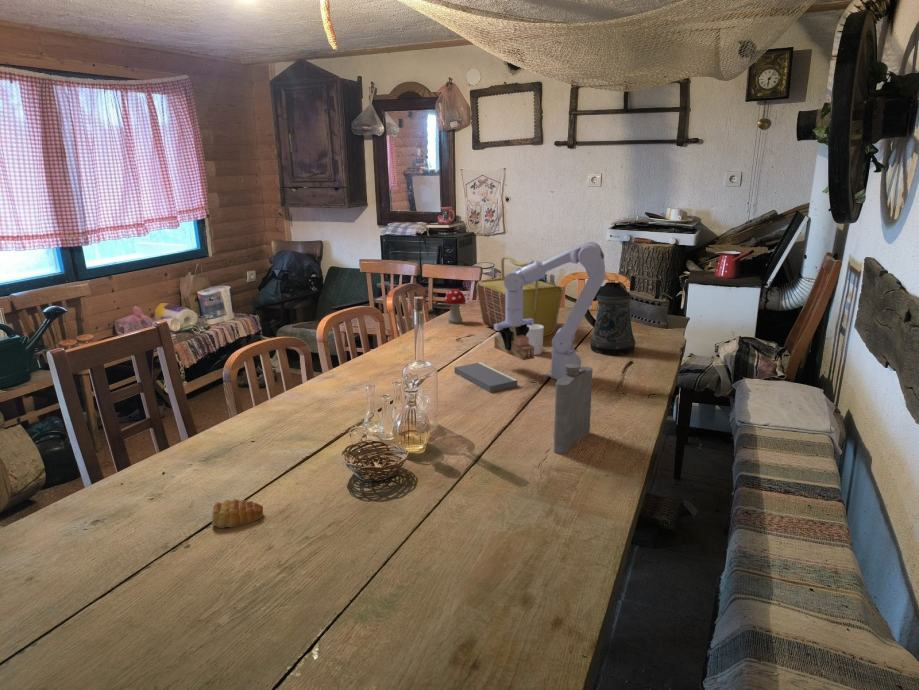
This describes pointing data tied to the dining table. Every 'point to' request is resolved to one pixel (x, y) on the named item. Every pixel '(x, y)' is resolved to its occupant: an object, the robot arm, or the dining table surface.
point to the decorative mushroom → (454, 305)
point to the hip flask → (572, 407)
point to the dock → (486, 377)
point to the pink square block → (521, 340)
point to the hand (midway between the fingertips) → (513, 348)
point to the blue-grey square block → (502, 338)
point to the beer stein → (612, 322)
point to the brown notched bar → (515, 349)
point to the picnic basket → (537, 301)
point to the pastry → (235, 513)
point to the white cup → (536, 337)
